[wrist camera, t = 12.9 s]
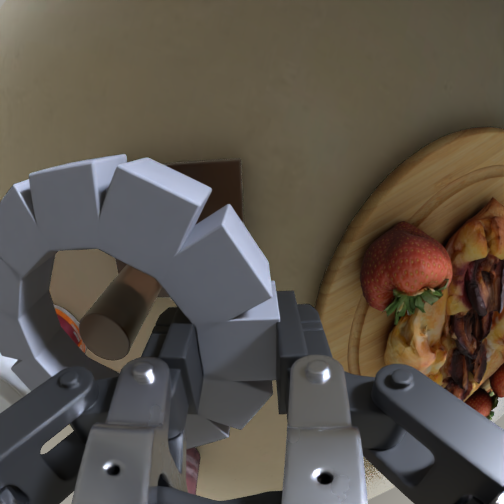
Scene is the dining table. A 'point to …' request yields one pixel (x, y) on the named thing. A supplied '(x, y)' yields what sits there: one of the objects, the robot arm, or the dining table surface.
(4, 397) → the pill bottle
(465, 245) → the wooden plate
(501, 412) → the dining table surface
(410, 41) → the dining table surface
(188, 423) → the gear
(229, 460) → the dining table surface
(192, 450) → the can
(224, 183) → the peg stand
